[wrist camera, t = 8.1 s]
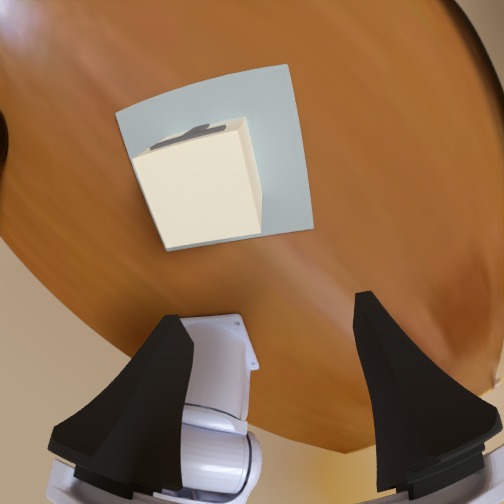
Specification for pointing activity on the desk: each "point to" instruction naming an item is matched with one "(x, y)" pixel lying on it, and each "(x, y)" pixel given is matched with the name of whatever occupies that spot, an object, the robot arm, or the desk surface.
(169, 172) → the letter block
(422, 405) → the robot arm
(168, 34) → the desk surface
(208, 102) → the slate mat
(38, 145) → the desk surface
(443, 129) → the desk surface
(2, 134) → the supplement bottle
